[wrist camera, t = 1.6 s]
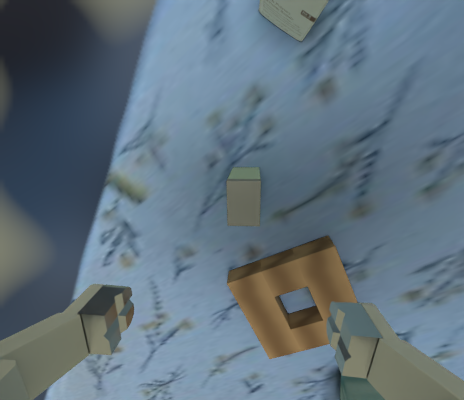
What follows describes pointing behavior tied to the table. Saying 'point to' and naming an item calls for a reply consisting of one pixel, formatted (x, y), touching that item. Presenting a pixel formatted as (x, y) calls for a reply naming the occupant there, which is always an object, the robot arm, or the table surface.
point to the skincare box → (293, 15)
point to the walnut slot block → (286, 280)
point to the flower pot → (357, 389)
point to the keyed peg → (243, 196)
